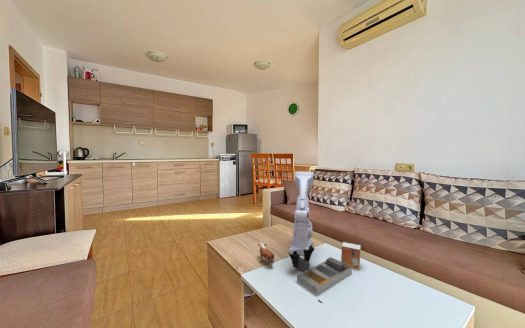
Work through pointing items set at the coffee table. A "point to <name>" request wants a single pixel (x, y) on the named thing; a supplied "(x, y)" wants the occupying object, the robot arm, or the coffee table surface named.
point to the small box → (351, 255)
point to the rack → (322, 277)
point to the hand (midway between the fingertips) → (301, 264)
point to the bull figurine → (266, 254)
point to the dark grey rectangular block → (335, 264)
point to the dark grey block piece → (303, 264)
